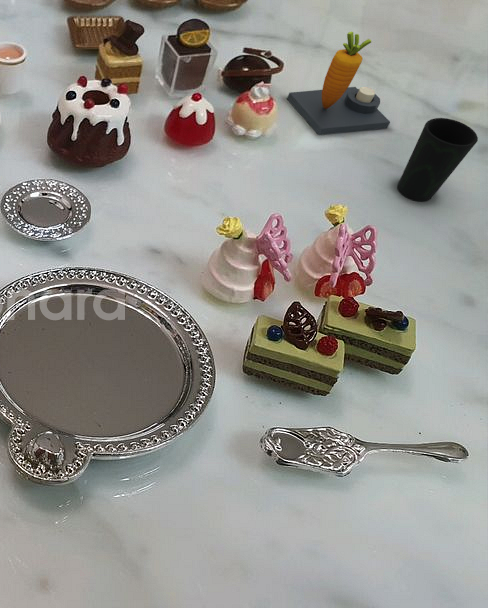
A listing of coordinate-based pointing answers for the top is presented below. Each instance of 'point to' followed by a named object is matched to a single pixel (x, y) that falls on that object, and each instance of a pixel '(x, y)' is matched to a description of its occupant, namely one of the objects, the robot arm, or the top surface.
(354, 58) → the carrot
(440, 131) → the cup
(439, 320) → the top surface
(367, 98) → the button
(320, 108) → the scale
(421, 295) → the top surface
